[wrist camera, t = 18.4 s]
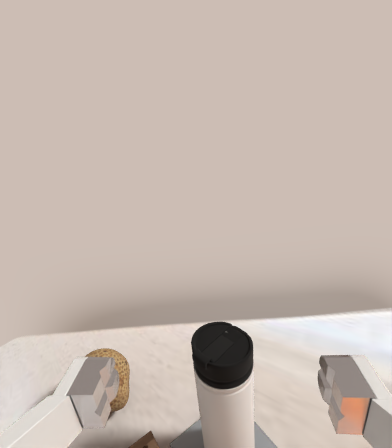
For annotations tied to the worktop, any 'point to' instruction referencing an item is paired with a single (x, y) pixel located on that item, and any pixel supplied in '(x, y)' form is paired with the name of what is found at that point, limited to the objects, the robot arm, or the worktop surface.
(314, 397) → the worktop surface
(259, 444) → the mat
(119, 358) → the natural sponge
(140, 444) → the wooden box
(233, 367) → the travel mug
